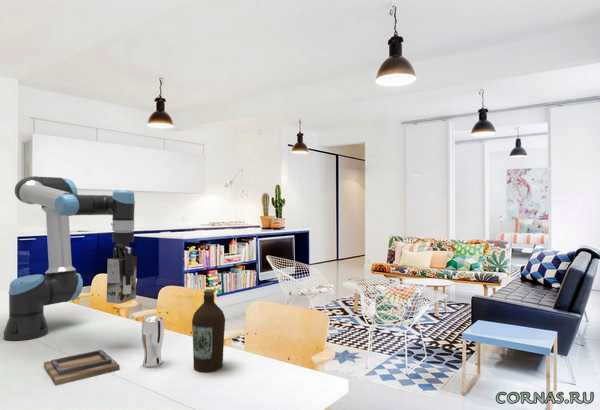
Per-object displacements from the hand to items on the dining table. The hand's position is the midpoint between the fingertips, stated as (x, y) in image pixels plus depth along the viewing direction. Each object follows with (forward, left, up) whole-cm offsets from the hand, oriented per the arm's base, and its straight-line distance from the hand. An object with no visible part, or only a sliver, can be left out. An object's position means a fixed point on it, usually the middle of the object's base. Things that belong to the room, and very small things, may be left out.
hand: (122, 291), depth 157 cm
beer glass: (+24, +2, -21) cm, 32 cm away
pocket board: (+13, -17, -21) cm, 30 cm away
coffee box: (0, 0, -4) cm, 4 cm away
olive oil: (+38, +15, -21) cm, 46 cm away
